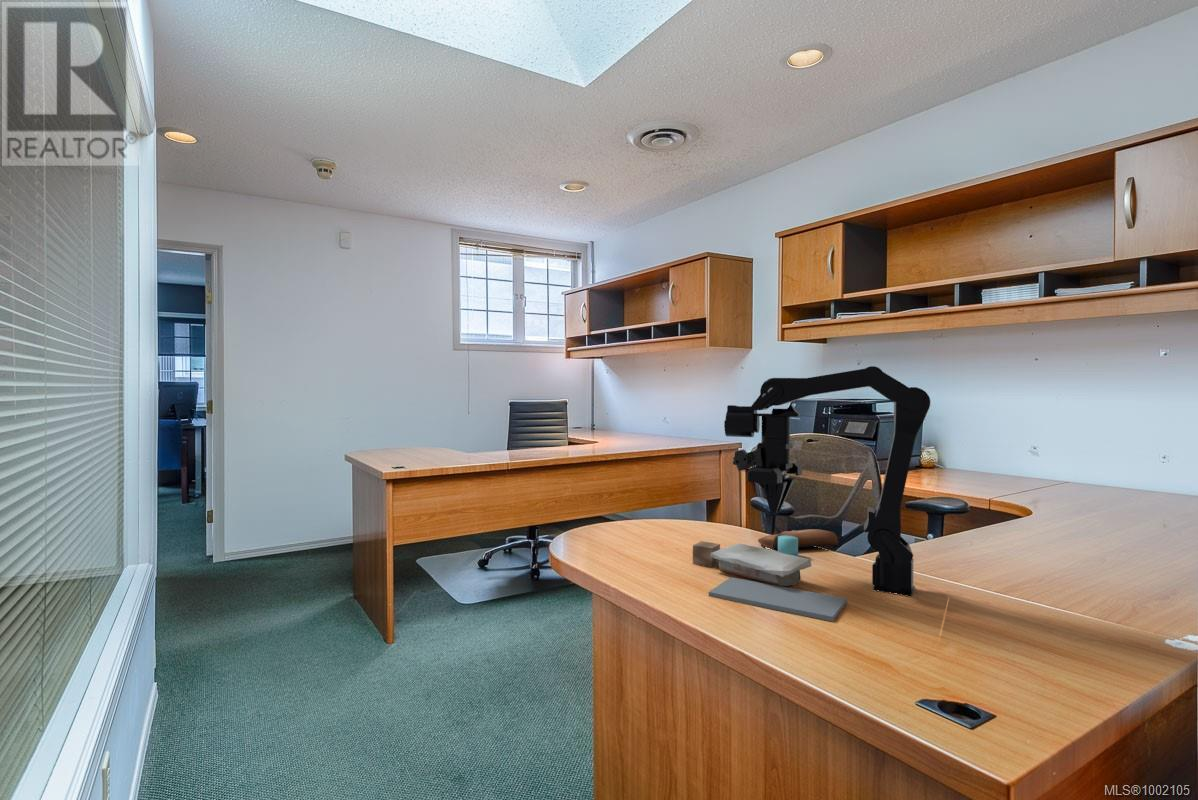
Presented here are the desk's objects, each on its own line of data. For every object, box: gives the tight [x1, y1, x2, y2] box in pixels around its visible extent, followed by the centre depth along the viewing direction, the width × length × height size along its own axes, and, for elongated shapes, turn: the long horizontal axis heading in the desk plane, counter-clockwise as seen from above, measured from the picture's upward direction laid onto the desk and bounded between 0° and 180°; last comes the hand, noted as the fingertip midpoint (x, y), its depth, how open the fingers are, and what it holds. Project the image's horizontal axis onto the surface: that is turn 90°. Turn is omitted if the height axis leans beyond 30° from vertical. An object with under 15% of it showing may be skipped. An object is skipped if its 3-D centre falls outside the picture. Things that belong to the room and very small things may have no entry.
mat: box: [708, 576, 848, 622], centre depth 108 cm, size 22×11×1 cm, turn 56°
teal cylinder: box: [778, 536, 799, 557], centre depth 137 cm, size 4×4×4 cm
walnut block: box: [692, 540, 721, 568], centre depth 131 cm, size 4×4×4 cm
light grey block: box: [710, 542, 812, 587], centre depth 121 cm, size 18×5×10 cm
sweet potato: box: [757, 528, 839, 551], centre depth 145 cm, size 18×7×7 cm
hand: (775, 512), depth 123 cm, fingers closed
